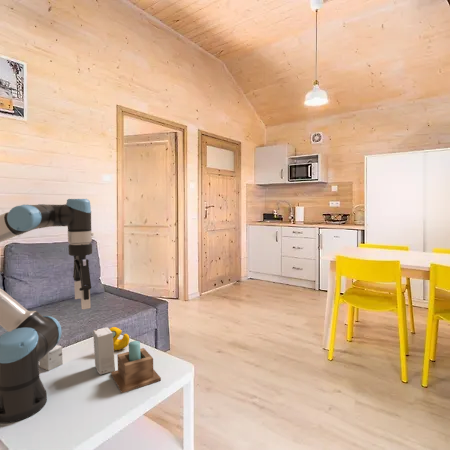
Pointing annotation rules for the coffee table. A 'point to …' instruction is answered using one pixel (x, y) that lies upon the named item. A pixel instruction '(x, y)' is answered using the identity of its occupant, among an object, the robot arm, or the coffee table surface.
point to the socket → (134, 371)
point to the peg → (134, 351)
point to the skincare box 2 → (104, 350)
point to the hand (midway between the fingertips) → (82, 303)
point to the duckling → (116, 342)
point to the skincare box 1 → (52, 359)
